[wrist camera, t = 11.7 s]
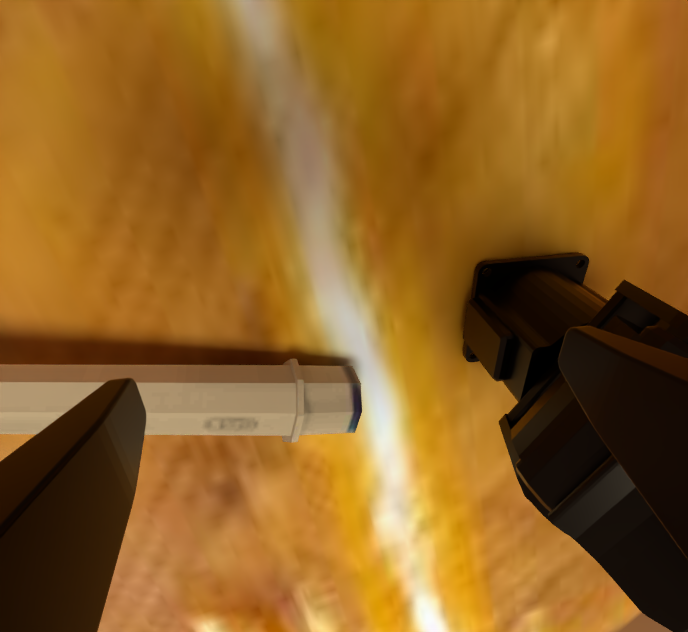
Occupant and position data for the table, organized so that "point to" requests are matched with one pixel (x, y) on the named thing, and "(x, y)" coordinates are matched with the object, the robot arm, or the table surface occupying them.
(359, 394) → the grey long bar
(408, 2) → the table surface
